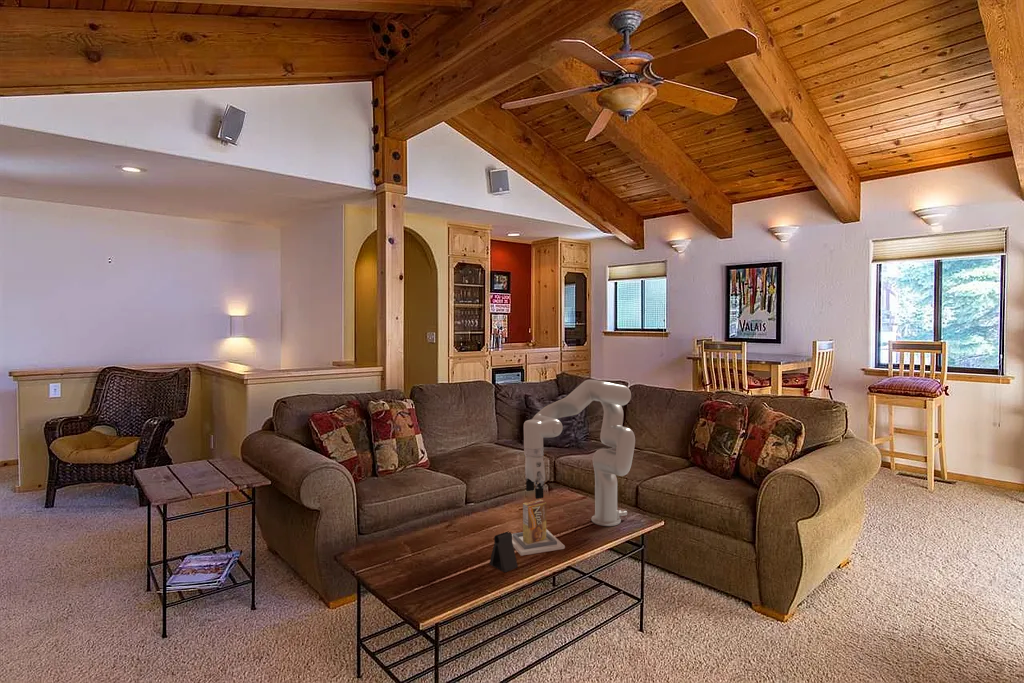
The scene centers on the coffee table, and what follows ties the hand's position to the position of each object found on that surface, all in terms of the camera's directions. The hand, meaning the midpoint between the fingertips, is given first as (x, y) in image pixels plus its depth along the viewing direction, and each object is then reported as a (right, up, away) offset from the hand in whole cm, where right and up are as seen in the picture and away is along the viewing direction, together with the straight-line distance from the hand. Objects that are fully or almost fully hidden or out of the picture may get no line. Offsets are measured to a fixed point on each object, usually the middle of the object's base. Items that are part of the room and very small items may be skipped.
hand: (534, 494), depth 231 cm
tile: (0, -20, +1) cm, 20 cm away
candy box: (0, -19, +1) cm, 19 cm away
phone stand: (-12, -21, -19) cm, 31 cm away
